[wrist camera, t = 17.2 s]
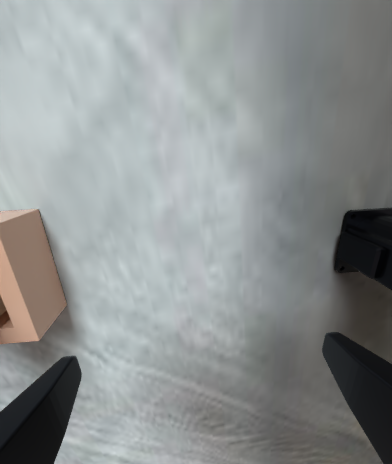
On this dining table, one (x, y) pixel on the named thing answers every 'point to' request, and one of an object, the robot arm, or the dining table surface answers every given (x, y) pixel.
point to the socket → (27, 278)
